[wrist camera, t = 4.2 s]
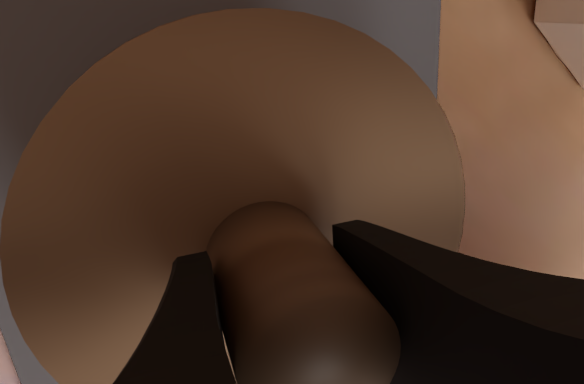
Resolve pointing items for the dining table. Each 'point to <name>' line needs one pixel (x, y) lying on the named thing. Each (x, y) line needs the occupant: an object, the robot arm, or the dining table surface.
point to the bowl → (564, 31)
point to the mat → (125, 26)
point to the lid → (227, 195)
